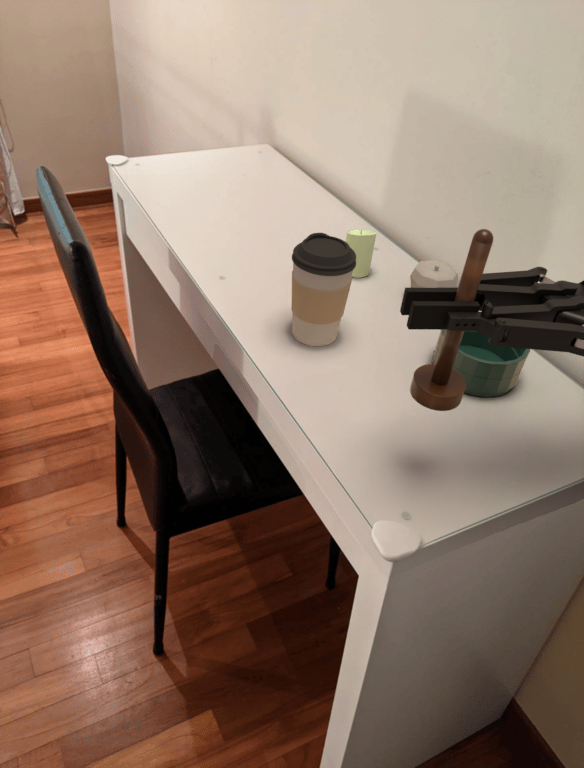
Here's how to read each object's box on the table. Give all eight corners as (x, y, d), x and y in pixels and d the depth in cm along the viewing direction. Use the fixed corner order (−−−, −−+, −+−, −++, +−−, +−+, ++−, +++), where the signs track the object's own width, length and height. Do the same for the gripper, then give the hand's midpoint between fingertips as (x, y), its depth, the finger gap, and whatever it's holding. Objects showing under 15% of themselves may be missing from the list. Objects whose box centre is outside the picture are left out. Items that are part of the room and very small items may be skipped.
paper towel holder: (471, 405, 66) (530, 240, 53) (427, 415, 64) (478, 247, 52) (442, 374, 70) (492, 214, 57) (400, 382, 68) (442, 219, 55)
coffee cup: (353, 345, 91) (370, 255, 82) (298, 355, 88) (308, 262, 79) (329, 313, 98) (341, 226, 88) (276, 321, 95) (283, 231, 85)
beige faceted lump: (461, 304, 104) (471, 269, 99) (431, 317, 99) (440, 282, 95) (425, 283, 108) (434, 249, 104) (395, 295, 104) (403, 261, 100)
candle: (337, 265, 110) (343, 222, 105) (362, 263, 112) (370, 221, 107) (347, 279, 107) (354, 235, 102) (373, 277, 108) (381, 234, 103)
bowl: (533, 389, 87) (548, 355, 83) (462, 405, 83) (475, 370, 79) (483, 341, 95) (494, 308, 92) (416, 353, 91) (425, 319, 87)
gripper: (653, 384, 59) (420, 387, 56) (579, 301, 70) (382, 300, 67) (691, 319, 54) (439, 318, 51) (606, 242, 66) (395, 237, 62)
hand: (407, 308), depth 59 cm, fingers closed on paper towel holder, 2 cm apart
